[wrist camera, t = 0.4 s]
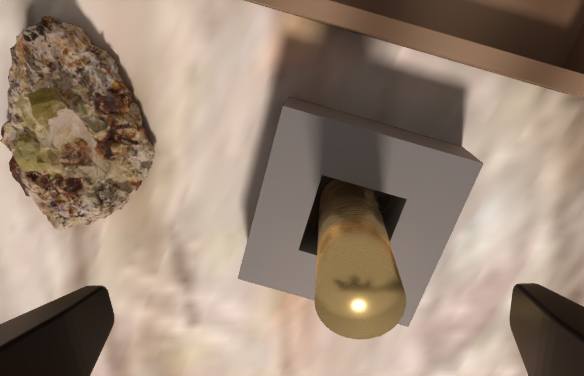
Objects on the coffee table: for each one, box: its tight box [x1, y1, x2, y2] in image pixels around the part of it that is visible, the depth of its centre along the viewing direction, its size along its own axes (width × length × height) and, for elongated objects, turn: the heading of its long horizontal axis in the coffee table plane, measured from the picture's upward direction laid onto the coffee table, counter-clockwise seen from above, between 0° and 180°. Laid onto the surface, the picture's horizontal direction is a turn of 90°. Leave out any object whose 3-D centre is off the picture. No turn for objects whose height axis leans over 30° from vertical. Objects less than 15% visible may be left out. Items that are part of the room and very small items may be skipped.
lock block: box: [238, 97, 483, 327], centre depth 21 cm, size 9×9×3 cm
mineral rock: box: [0, 16, 155, 230], centre depth 21 cm, size 11×4×8 cm
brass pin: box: [315, 179, 406, 339], centre depth 18 cm, size 3×3×9 cm
